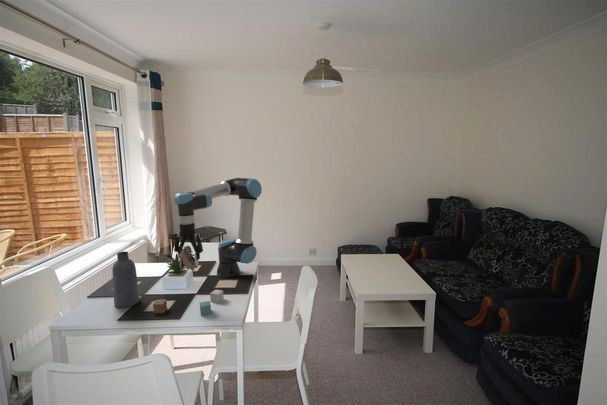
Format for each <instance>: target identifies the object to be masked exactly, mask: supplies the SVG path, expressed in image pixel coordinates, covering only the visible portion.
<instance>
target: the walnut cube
mask: <svg viewBox="0 0 607 405" xmlns="http://www.w3.org/2000/svg"><path fill="white" fill-rule="evenodd" d="M167 303H168V302H167V299H155V301H154V303H153V304H152V308H153V314H165V312H166V310H167V308H168V304H167Z"/></svg>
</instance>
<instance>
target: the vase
mask: <svg viewBox="0 0 607 405" xmlns="http://www.w3.org/2000/svg"><path fill="white" fill-rule="evenodd" d="M116 257H117V260H116V261H115V262H114V263H113V265H112V273H111V274H112V286H113V287H112V288H113V289H112V290H113V304H114V306H115V307H117V308H122V309H123V308H128V307H132V306H134V305H136V304H138V303H139V302H140V298H141V297H140V291H139V285H138V284H139V283H138V282H139V281H138V275H137V269H136V264H135V262H134V261H133V260H132V259H131V258H129V252H128V251H119V252H117V256H116Z"/></svg>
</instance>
